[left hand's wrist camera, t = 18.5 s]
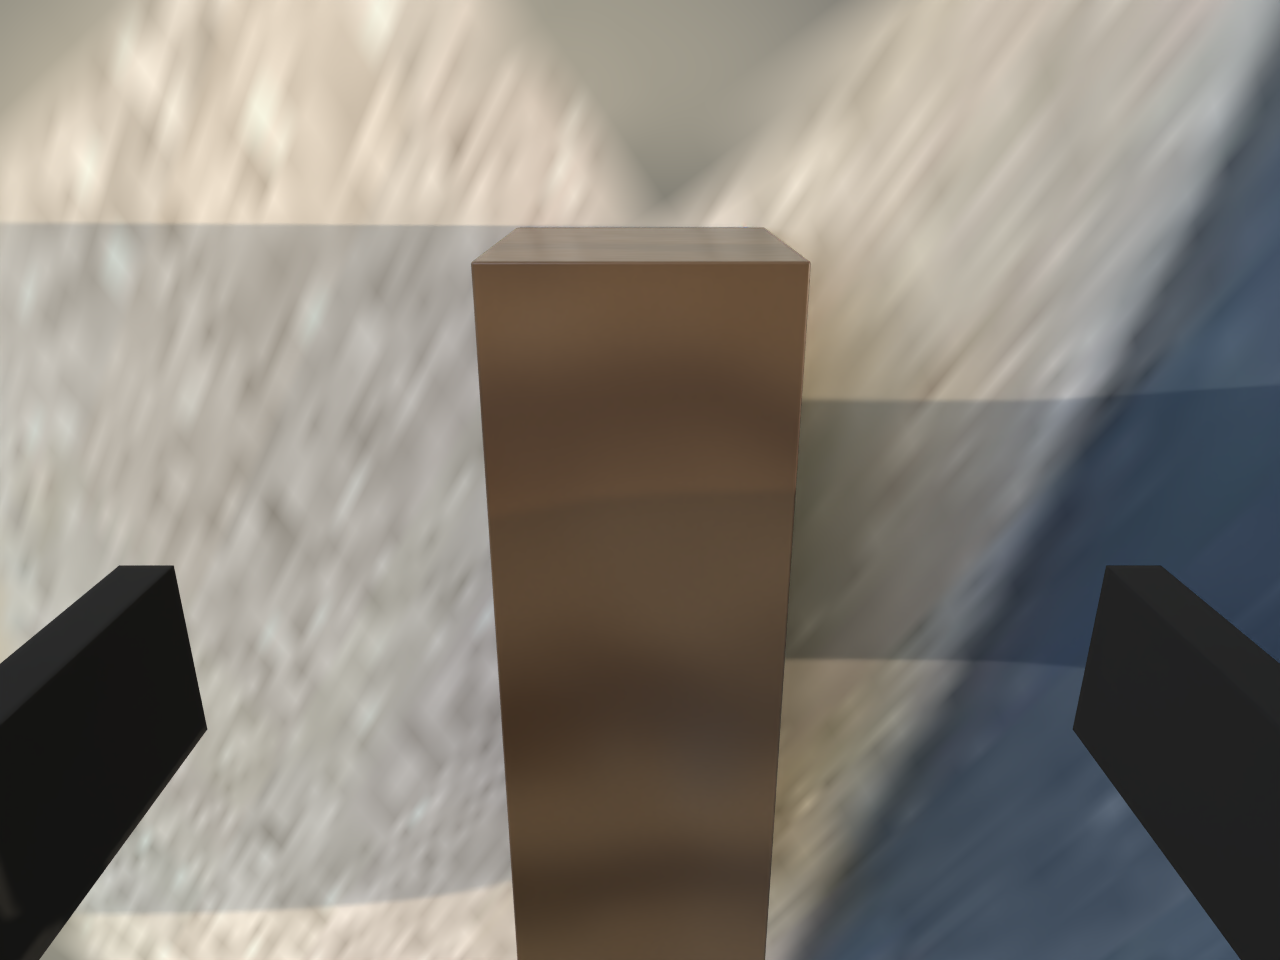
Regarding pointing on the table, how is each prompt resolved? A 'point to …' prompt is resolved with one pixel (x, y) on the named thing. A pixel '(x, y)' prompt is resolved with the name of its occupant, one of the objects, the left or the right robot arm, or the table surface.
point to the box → (641, 576)
